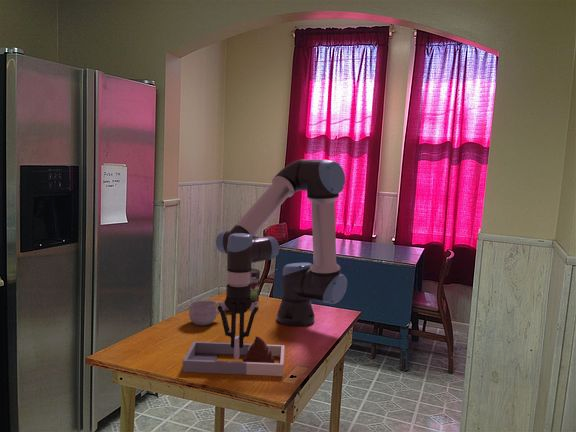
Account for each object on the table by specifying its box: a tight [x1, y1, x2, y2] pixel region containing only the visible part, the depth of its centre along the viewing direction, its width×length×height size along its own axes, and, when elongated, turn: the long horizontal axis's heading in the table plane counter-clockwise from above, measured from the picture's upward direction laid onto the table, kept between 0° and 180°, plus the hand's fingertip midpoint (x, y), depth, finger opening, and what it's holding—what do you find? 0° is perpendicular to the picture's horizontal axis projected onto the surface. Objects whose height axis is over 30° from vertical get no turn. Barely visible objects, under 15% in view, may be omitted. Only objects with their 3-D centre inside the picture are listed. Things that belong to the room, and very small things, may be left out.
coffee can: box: [250, 268, 261, 305], centre depth 229 cm, size 10×10×14 cm
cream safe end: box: [246, 343, 285, 377], centre depth 161 cm, size 11×16×4 cm
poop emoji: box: [242, 336, 275, 363], centre depth 160 cm, size 10×8×9 cm
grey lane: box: [182, 341, 252, 376], centre depth 161 cm, size 19×16×4 cm
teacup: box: [188, 299, 223, 326], centre depth 198 cm, size 14×11×8 cm
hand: (236, 357), depth 160 cm, fingers closed
